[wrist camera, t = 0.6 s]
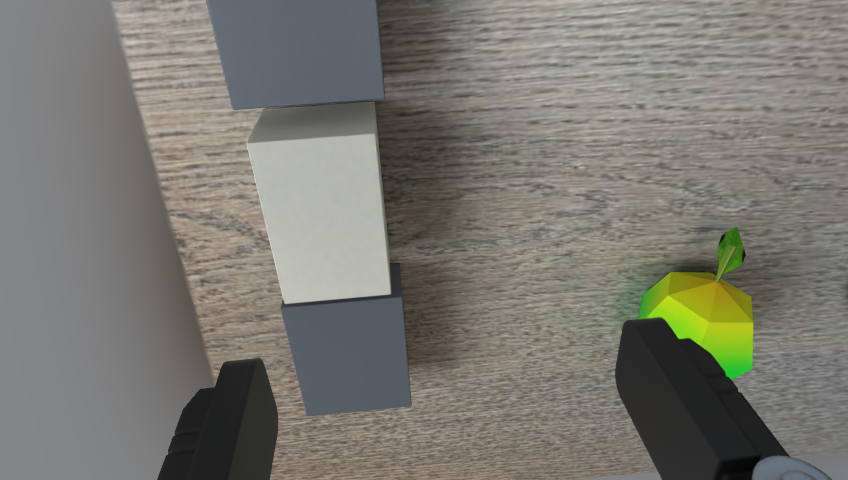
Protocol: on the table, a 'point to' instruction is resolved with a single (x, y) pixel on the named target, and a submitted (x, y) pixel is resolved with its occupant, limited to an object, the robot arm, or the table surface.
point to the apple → (708, 309)
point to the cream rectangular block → (323, 200)
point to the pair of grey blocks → (315, 84)
